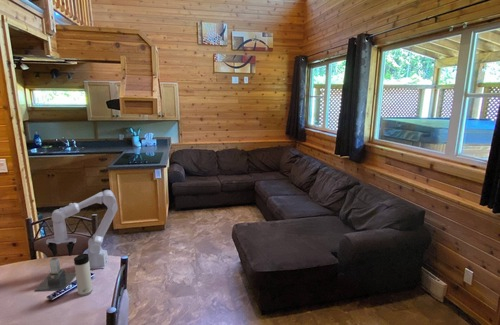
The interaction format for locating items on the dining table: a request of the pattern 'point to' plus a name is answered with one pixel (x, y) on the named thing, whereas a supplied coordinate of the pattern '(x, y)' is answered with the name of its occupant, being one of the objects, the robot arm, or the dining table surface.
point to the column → (55, 266)
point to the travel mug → (83, 274)
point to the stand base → (56, 281)
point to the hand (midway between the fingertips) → (63, 255)
